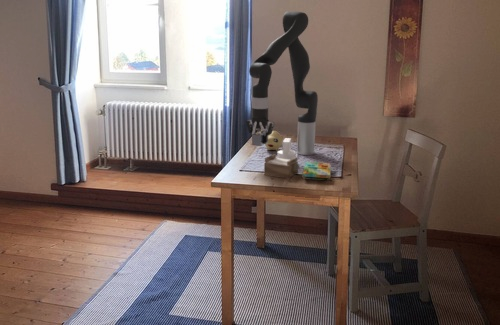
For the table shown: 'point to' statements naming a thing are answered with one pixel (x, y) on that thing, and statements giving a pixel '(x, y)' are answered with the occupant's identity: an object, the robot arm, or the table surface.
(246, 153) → the table surface
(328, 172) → the puzzle game
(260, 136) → the block
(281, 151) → the cylinder with rectangular tab
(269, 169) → the stand
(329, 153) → the table surface
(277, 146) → the tan toy hamster
